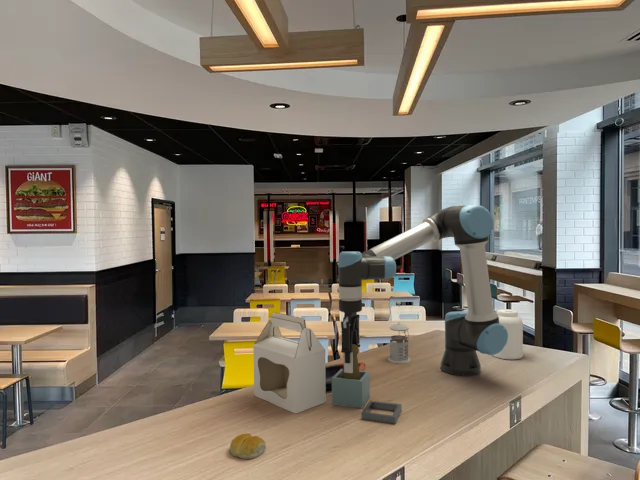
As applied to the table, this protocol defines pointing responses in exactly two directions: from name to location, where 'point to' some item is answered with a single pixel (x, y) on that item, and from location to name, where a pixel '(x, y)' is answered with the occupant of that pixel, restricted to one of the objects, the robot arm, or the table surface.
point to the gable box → (289, 365)
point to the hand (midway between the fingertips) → (351, 369)
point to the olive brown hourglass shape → (356, 373)
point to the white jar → (511, 334)
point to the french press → (399, 344)
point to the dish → (333, 369)
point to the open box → (350, 390)
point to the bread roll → (247, 446)
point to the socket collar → (381, 417)
